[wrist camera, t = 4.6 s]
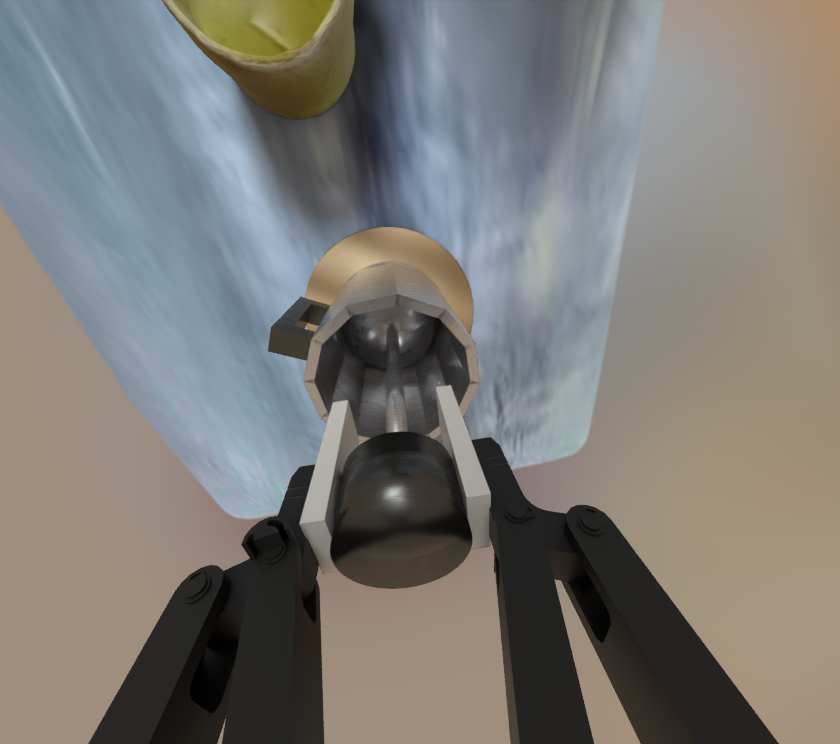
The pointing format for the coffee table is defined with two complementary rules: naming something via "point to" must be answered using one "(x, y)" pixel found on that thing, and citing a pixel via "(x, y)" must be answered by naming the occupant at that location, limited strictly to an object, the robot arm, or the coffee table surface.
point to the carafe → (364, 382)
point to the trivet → (395, 248)
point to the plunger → (397, 476)
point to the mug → (277, 48)
